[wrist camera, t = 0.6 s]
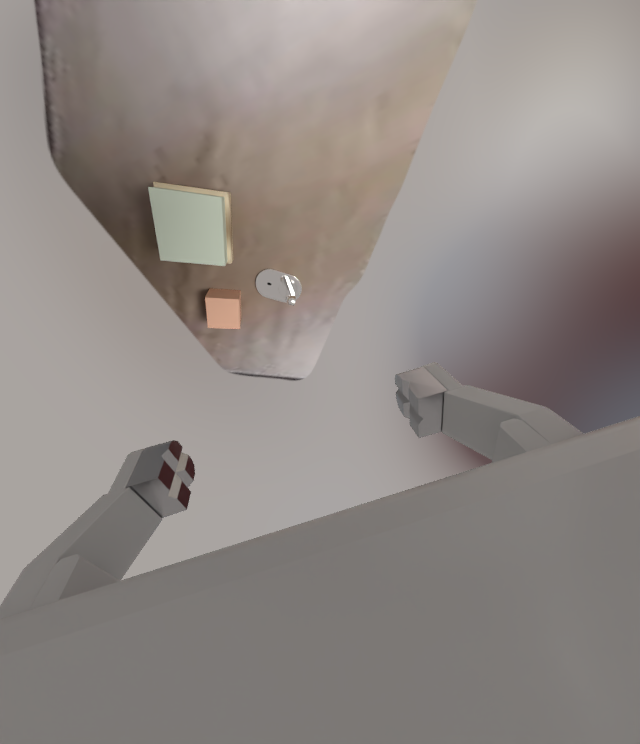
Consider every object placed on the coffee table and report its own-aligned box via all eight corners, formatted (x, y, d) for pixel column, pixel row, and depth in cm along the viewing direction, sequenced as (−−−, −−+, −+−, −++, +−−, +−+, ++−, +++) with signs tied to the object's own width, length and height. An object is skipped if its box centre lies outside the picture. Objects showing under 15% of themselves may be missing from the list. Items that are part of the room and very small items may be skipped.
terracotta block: (209, 288, 46) (204, 297, 42) (240, 290, 47) (239, 299, 43) (211, 316, 48) (207, 327, 44) (241, 317, 50) (239, 328, 45)
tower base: (162, 182, 38) (153, 181, 34) (230, 192, 40) (228, 192, 36) (172, 252, 42) (165, 257, 39) (233, 258, 44) (231, 263, 41)
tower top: (158, 187, 35) (147, 186, 31) (224, 196, 36) (221, 197, 33) (168, 254, 39) (160, 260, 36) (227, 260, 41) (225, 266, 37)
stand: (258, 264, 45) (304, 278, 48) (252, 293, 48) (296, 304, 50) (259, 276, 39) (311, 290, 42) (252, 308, 41) (302, 320, 44)
